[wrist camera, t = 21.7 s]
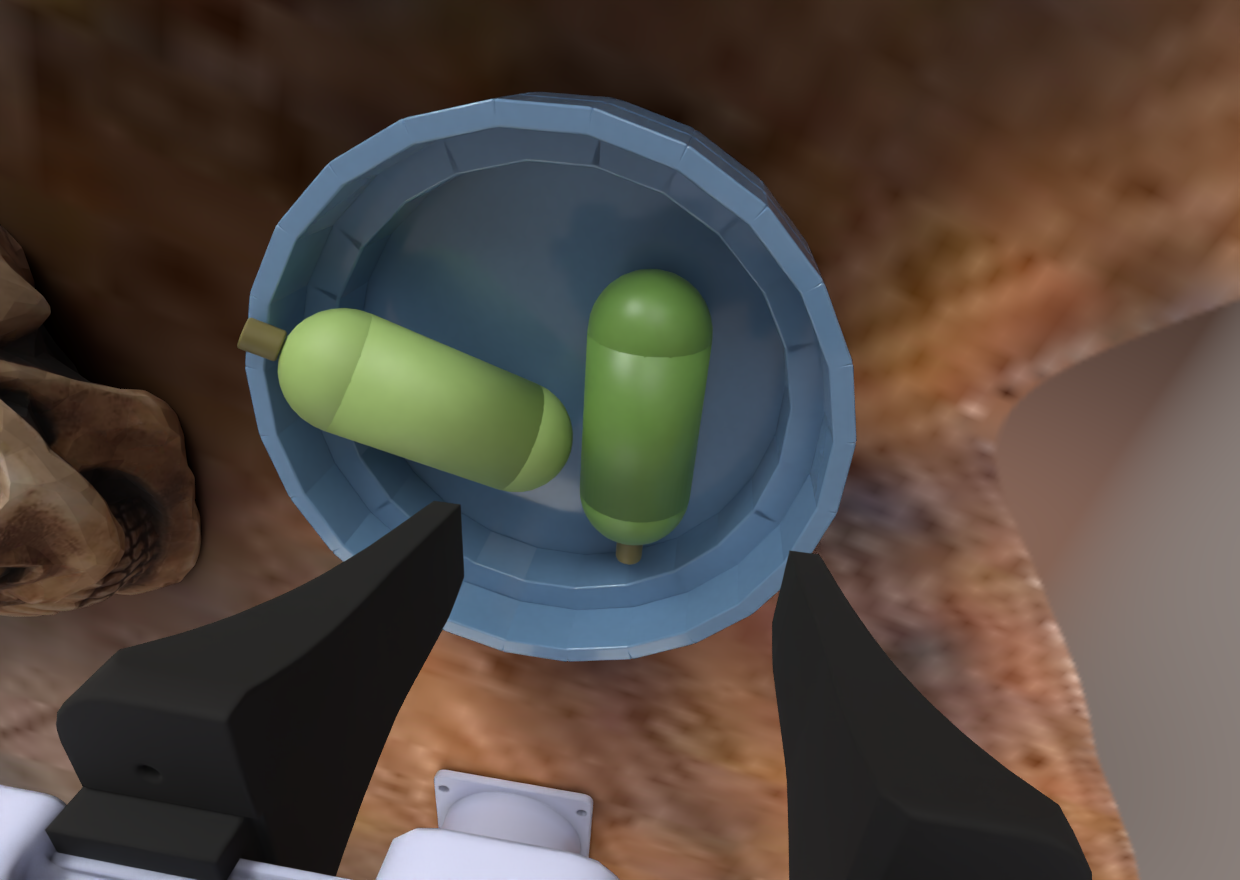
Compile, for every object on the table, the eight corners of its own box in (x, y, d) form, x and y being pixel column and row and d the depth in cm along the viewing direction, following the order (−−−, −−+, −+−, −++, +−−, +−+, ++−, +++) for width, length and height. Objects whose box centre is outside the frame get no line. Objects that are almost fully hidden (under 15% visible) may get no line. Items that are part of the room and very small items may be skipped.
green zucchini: (690, 540, 25) (665, 605, 22) (596, 517, 26) (560, 576, 23) (731, 265, 20) (707, 299, 17) (614, 247, 21) (571, 277, 18)
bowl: (779, 605, 27) (787, 697, 23) (357, 543, 28) (297, 619, 25) (896, 120, 19) (940, 136, 15) (288, 68, 20) (181, 71, 16)
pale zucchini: (589, 383, 23) (598, 459, 21) (537, 450, 25) (539, 527, 23) (278, 246, 19) (240, 321, 16) (243, 340, 21) (205, 421, 18)
